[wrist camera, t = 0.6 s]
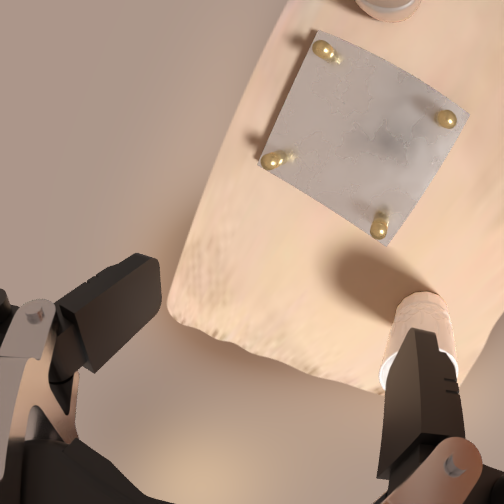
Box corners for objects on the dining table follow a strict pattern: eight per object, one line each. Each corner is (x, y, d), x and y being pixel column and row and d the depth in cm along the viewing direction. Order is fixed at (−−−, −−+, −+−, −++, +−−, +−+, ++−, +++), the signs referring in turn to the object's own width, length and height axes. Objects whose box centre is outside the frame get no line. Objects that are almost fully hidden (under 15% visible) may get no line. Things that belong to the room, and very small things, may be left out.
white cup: (392, 342, 34) (380, 402, 27) (387, 288, 32) (376, 347, 24) (451, 338, 30) (452, 401, 22) (453, 283, 28) (462, 342, 20)
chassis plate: (321, 32, 24) (309, 21, 20) (467, 114, 21) (477, 114, 17) (261, 162, 33) (243, 170, 30) (387, 242, 30) (383, 259, 27)
